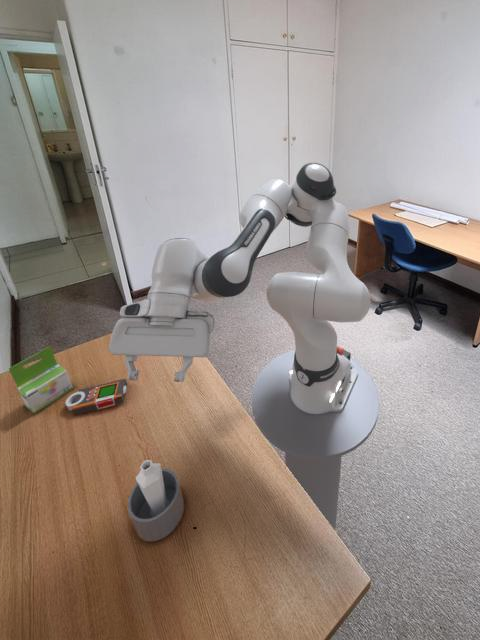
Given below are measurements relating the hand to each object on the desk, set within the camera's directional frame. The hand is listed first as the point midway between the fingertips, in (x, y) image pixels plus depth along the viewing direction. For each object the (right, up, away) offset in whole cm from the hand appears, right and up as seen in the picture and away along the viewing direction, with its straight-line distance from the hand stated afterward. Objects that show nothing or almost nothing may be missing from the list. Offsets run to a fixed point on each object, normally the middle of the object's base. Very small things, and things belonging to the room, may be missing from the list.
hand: (155, 380), depth 65 cm
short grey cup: (0, -29, +3) cm, 29 cm away
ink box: (-43, -17, +29) cm, 54 cm away
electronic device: (-29, -18, +28) cm, 43 cm away
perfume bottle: (0, -28, +3) cm, 28 cm away
